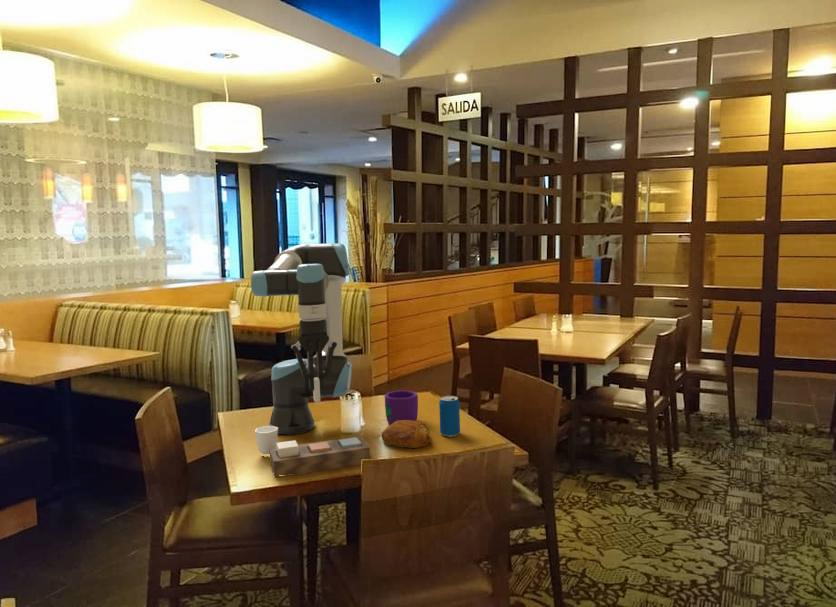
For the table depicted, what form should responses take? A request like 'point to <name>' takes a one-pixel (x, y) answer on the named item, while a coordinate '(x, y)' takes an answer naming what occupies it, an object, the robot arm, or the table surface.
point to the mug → (401, 406)
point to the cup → (266, 438)
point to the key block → (319, 458)
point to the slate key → (349, 443)
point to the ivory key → (287, 449)
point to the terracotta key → (318, 447)
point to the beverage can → (449, 416)
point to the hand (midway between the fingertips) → (317, 400)
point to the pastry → (406, 434)
